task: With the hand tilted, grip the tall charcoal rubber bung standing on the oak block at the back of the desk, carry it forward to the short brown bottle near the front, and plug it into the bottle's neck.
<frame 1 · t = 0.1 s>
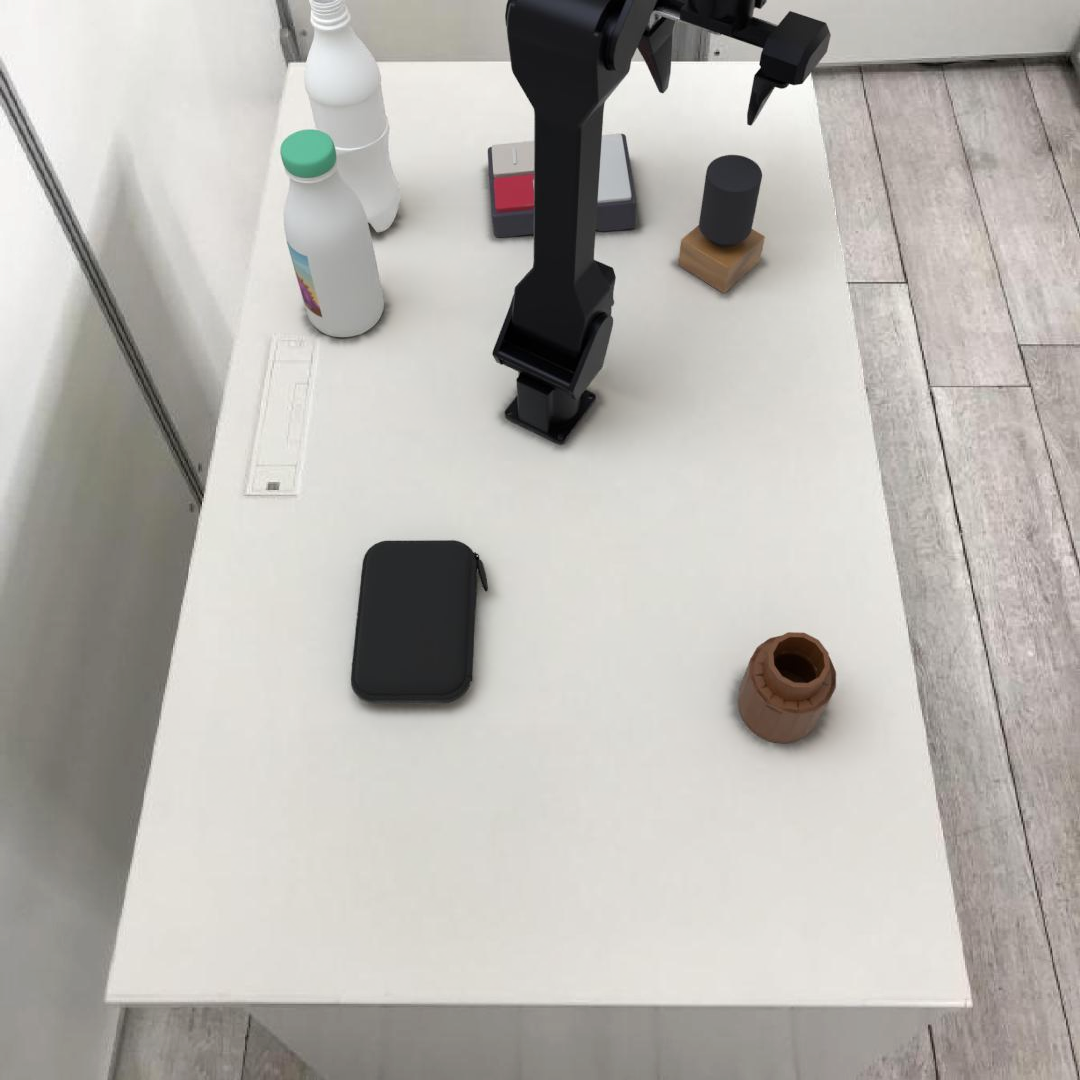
hand: (706, 106, 100), 15 cm above the table, tool pointing down, fingers open, 9 cm apart
milk bottle: (347, 312, 107), on the table
calculator: (560, 200, 115), on the table
water bottle: (370, 219, 114), on the table
bung: (728, 206, 103), on the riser, point 8 cm above the table
carrying case: (424, 628, 89), on the table
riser: (718, 263, 110), on the table
bottle: (778, 704, 84), on the table
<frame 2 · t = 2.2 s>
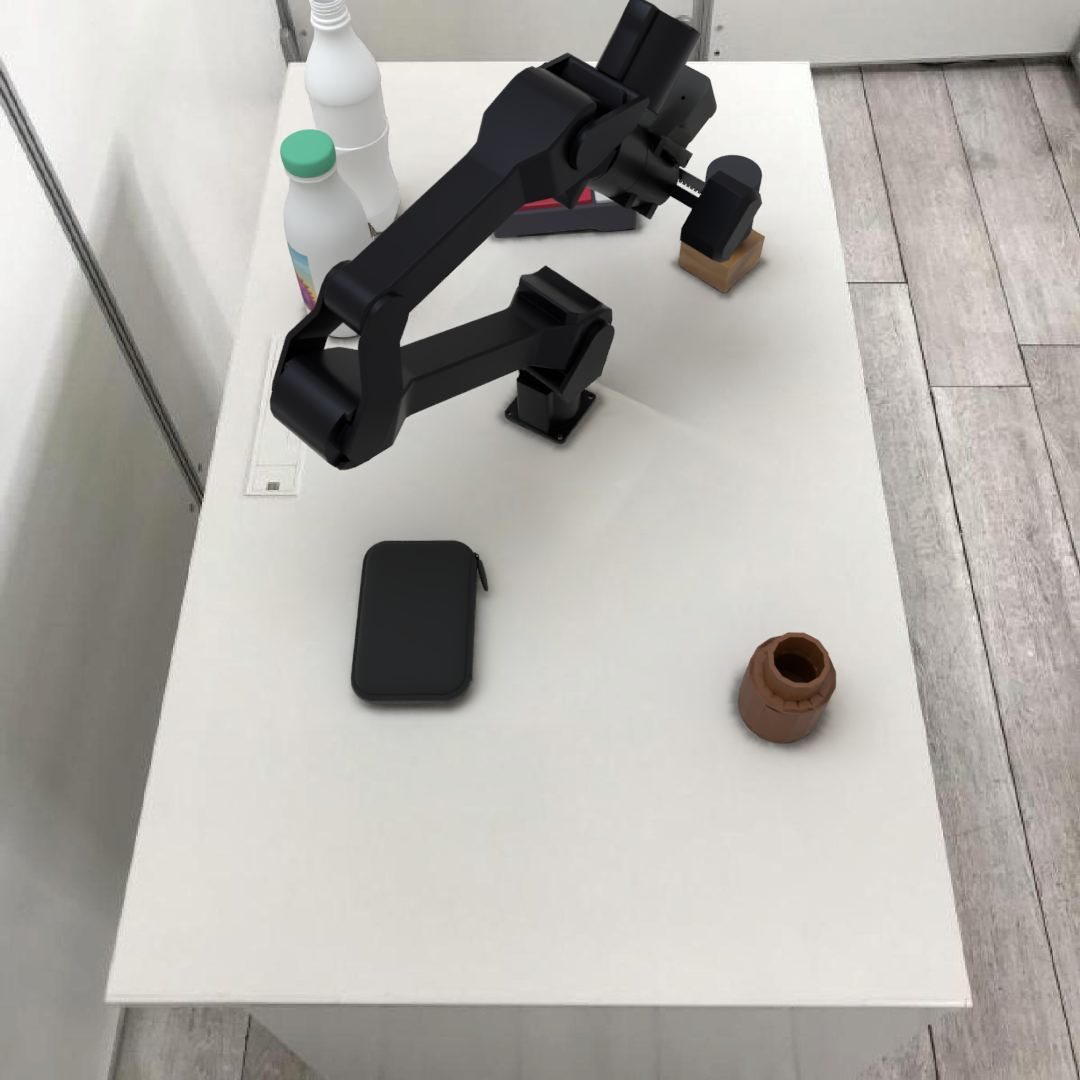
hand: (688, 197, 96), 13 cm above the table, tool tilted 45°, fingers open, 9 cm apart
nothing on the table moved.
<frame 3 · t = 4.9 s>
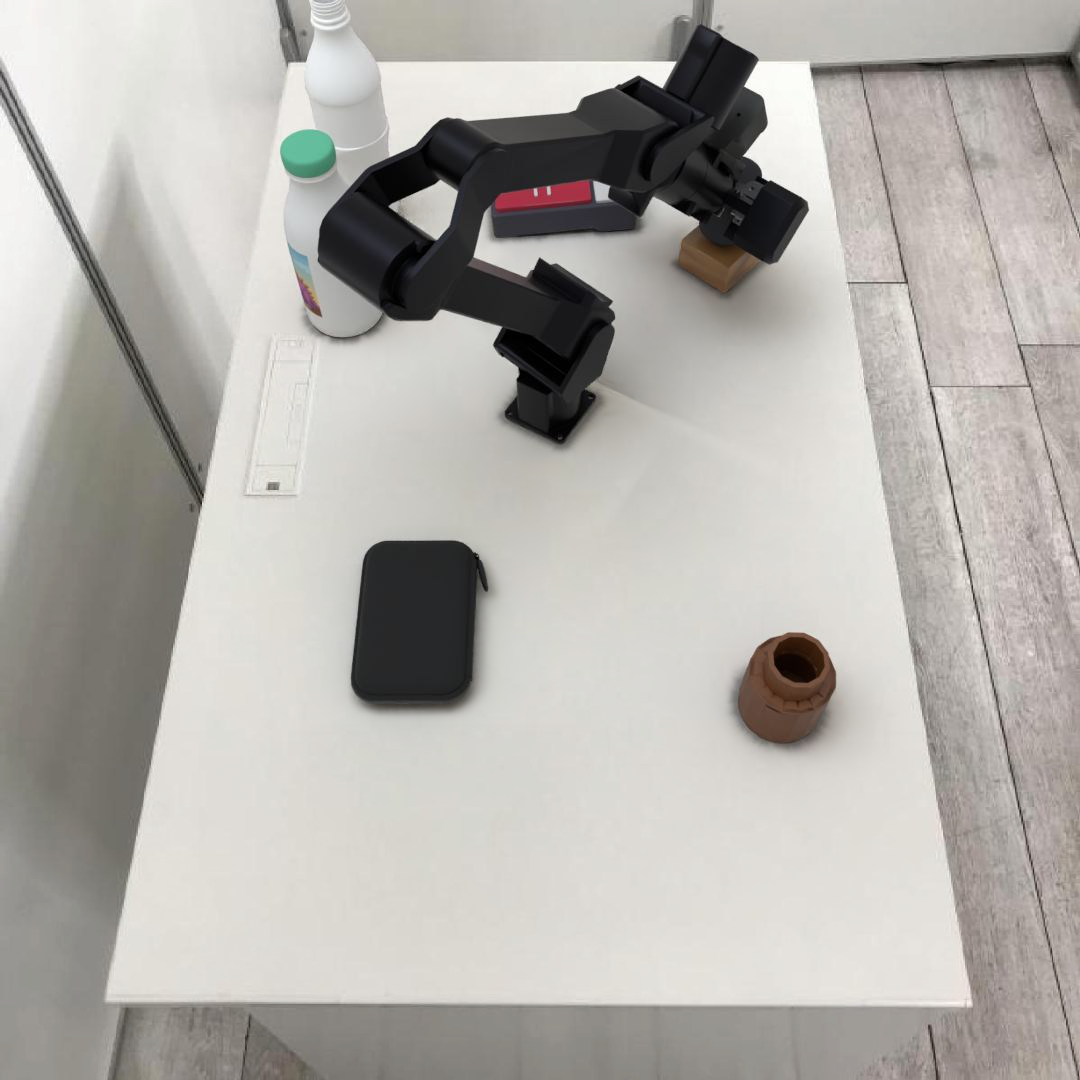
hand: (736, 203, 104), 7 cm above the table, tool tilted 45°, fingers closed on bung, 5 cm apart
bung: (728, 206, 103), on the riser, point 8 cm above the table, touching gripper
everything else where it was.
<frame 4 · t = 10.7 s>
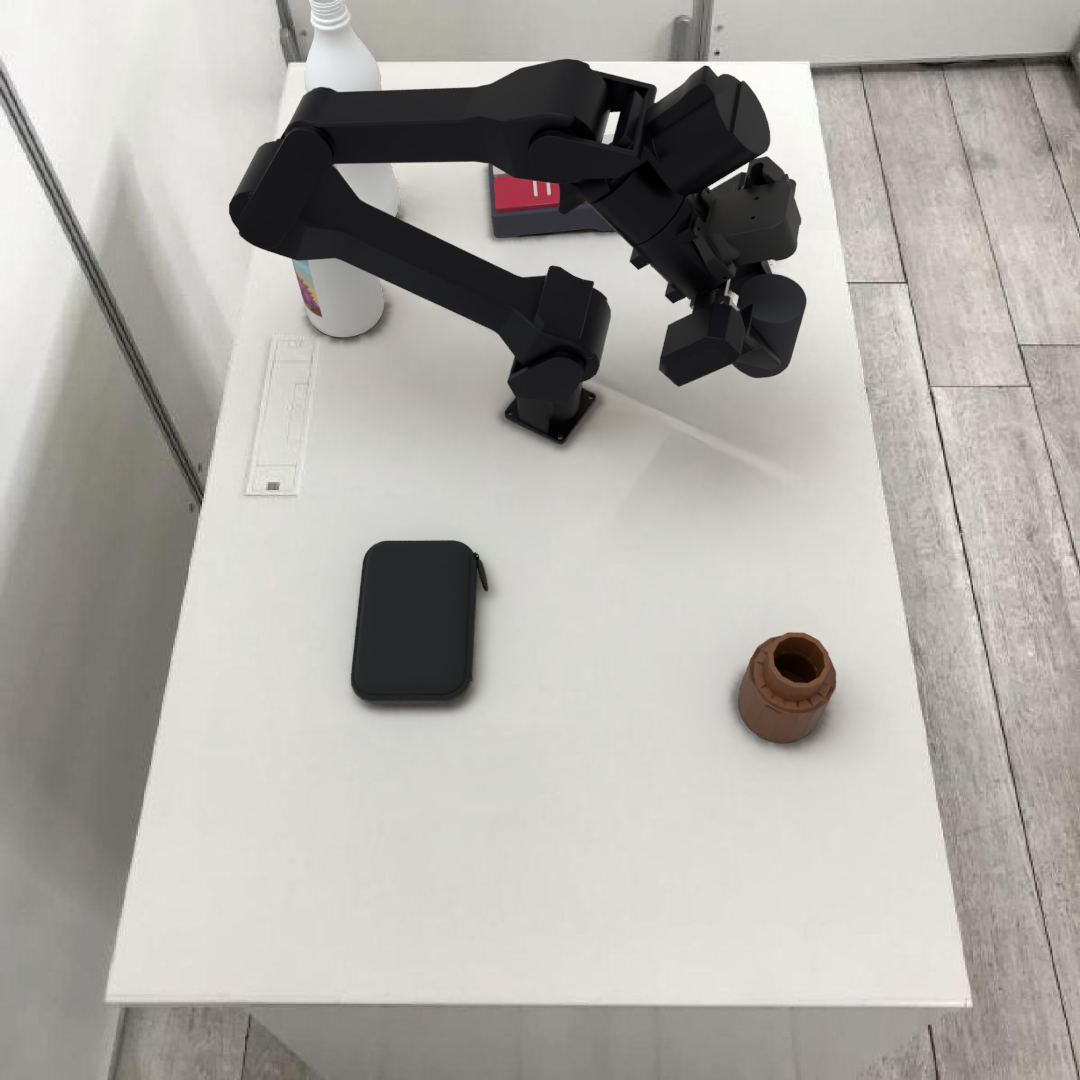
hand: (779, 341, 86), 14 cm above the table, tool tilted 45°, fingers closed on bung, 5 cm apart
bung: (764, 332, 86), point 14 cm above the table, touching gripper
everything else where it was.
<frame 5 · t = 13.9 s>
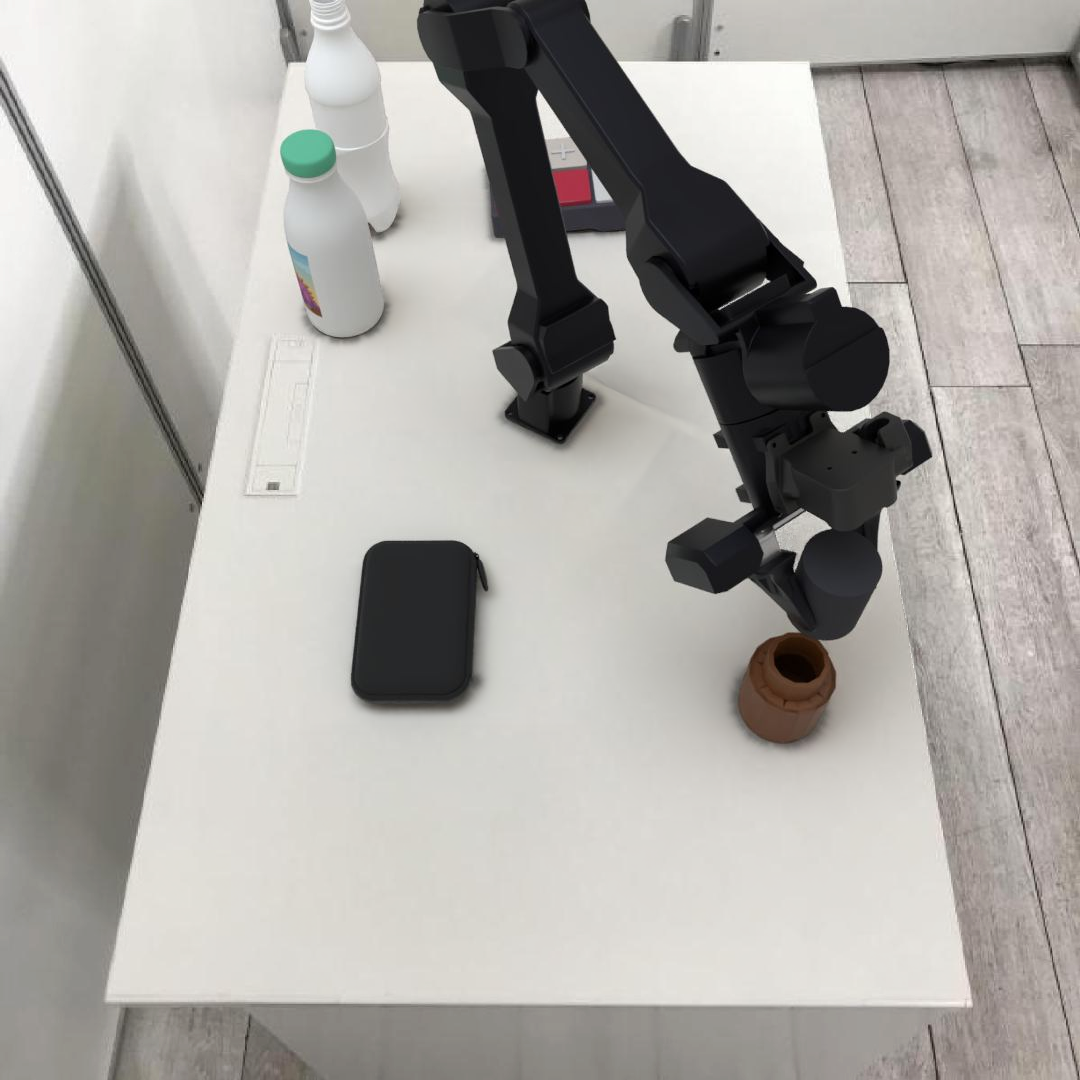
hand: (840, 609, 73), 14 cm above the table, tool tilted 45°, fingers closed on bung, 5 cm apart
bung: (829, 591, 73), point 15 cm above the table, touching gripper
everything else where it was.
when the fingers open (10 cm above the table, at t = 16.4 s): bung stays where it is, resting on bottle.
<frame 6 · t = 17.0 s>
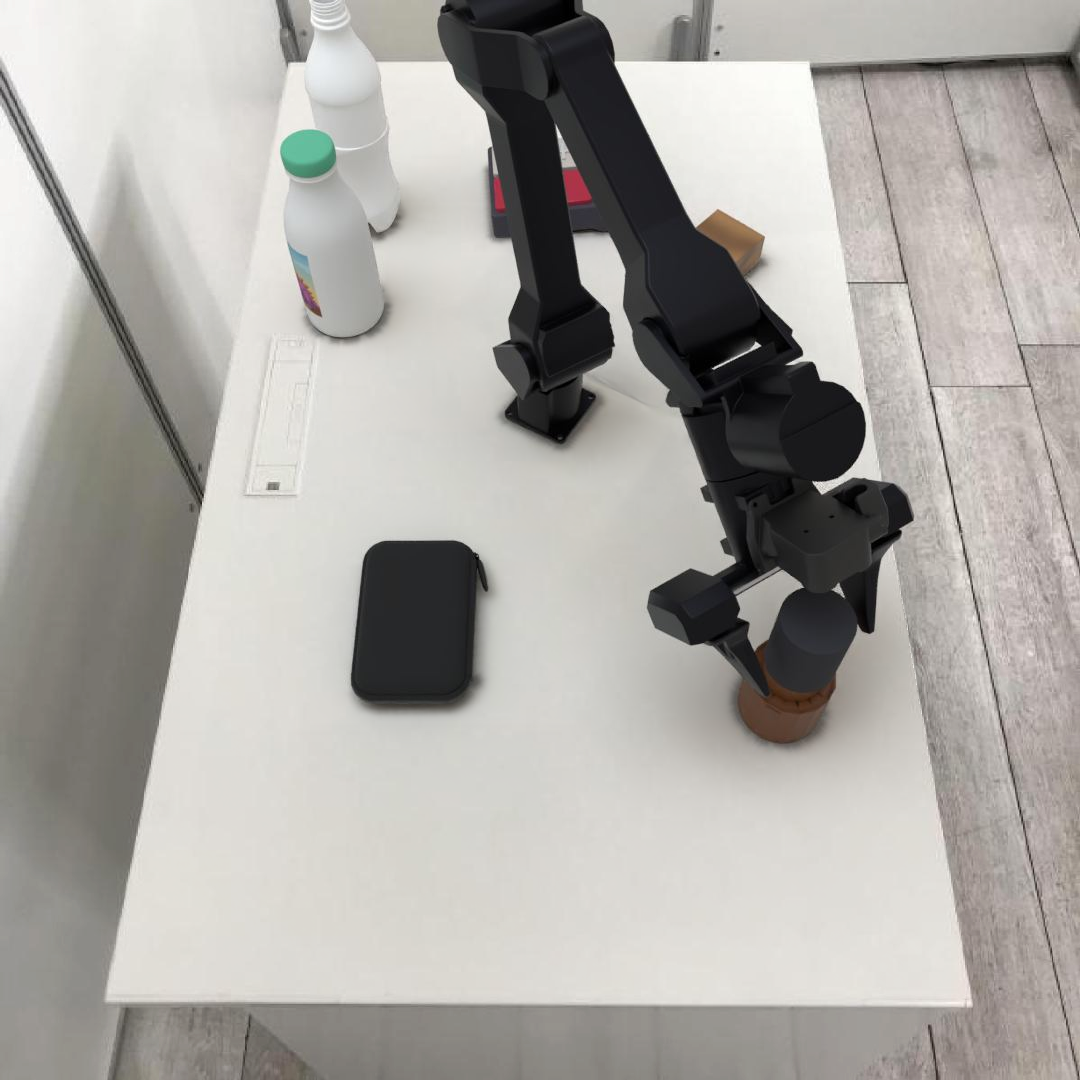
hand: (817, 663, 75), 11 cm above the table, tool tilted 45°, fingers open, 9 cm apart
bung: (806, 645, 75), in the bottle, point 11 cm above the table
bottle: (778, 704, 84), on the table, touching bung
everything else where it was.
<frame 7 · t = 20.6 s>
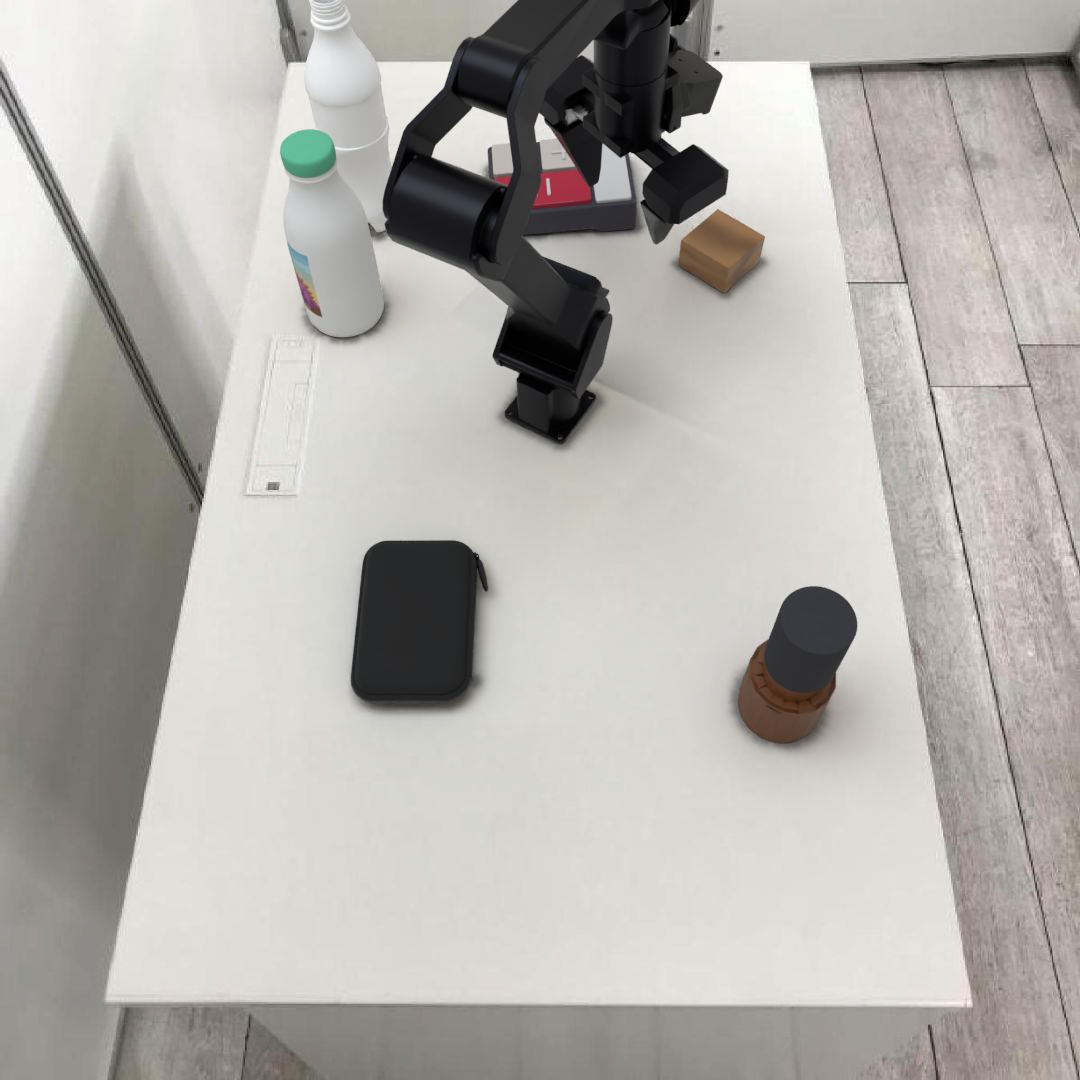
hand: (625, 212, 96), 13 cm above the table, tool pointing down, fingers open, 9 cm apart
nothing on the table moved.
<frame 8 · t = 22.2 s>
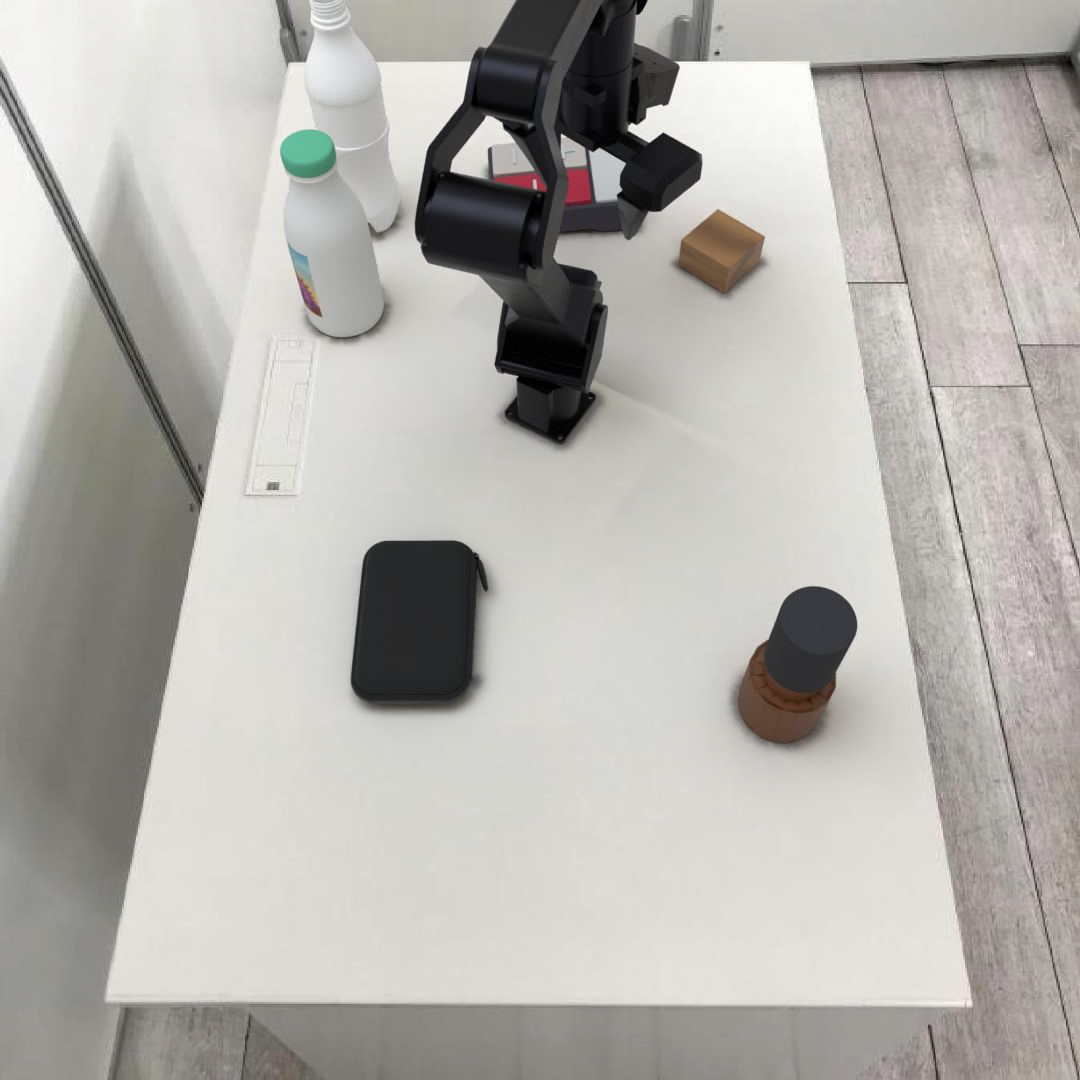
hand: (591, 212, 95), 13 cm above the table, tool pointing down, fingers open, 9 cm apart
nothing on the table moved.
at the end: bung 0.1 cm off-centre in the bottle, point 11.0 cm above the bottle's base; bung tilted 0°; the gripper is holding nothing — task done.
